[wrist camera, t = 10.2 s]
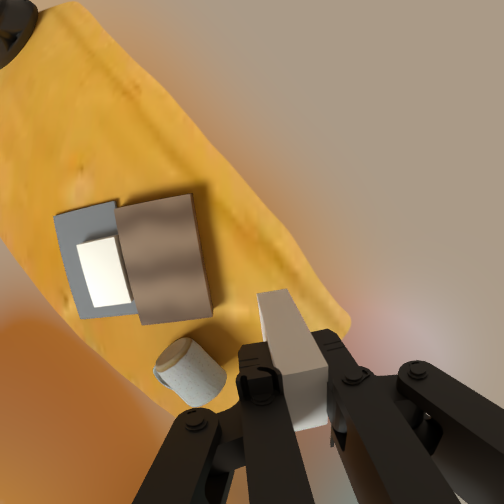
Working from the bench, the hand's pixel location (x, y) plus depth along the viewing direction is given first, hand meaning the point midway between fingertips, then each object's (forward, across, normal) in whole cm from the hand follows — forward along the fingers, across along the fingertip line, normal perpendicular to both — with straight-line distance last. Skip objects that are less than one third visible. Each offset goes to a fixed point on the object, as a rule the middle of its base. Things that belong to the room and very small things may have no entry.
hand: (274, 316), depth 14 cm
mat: (+24, -22, -1) cm, 33 cm away
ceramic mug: (+25, -12, -18) cm, 33 cm away
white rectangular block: (+24, -20, -2) cm, 31 cm away
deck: (+24, -11, -2) cm, 27 cm away
